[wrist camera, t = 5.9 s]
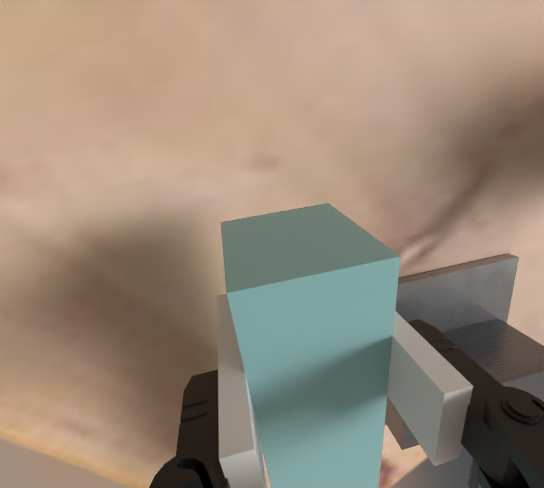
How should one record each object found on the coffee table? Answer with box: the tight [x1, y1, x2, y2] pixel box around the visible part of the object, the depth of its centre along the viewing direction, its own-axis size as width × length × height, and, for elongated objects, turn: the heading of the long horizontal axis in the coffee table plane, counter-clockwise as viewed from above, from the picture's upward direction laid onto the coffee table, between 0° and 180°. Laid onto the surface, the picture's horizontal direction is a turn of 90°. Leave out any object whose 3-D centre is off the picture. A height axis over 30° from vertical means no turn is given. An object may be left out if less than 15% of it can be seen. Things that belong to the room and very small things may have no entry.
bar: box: [221, 203, 400, 488], centre depth 13 cm, size 4×20×5 cm, turn 8°
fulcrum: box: [385, 254, 544, 450], centre depth 21 cm, size 14×14×6 cm
